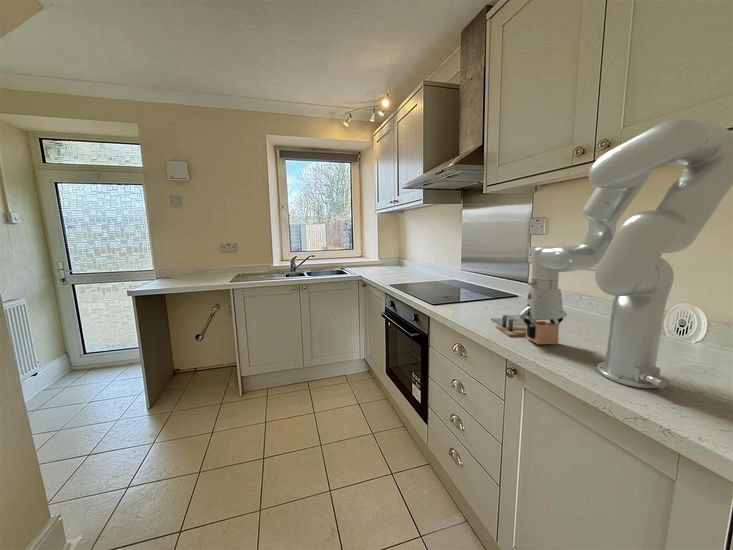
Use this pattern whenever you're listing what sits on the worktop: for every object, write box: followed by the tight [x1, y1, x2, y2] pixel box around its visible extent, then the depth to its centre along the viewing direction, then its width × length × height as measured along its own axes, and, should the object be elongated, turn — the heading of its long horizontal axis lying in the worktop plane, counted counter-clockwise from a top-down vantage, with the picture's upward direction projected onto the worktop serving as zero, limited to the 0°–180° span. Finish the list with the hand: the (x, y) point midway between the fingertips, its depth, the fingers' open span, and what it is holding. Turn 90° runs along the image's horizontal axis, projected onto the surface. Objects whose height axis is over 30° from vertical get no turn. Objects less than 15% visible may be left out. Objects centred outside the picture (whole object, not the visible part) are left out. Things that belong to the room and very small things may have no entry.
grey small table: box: [502, 314, 548, 331], centre depth 108 cm, size 8×12×5 cm
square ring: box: [525, 320, 560, 345], centre depth 97 cm, size 7×7×6 cm
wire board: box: [495, 325, 527, 338], centre depth 108 cm, size 10×16×1 cm, turn 93°
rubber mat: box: [490, 317, 526, 326], centre depth 119 cm, size 9×11×1 cm
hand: (541, 336), depth 98 cm, fingers closed on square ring, 6 cm apart
